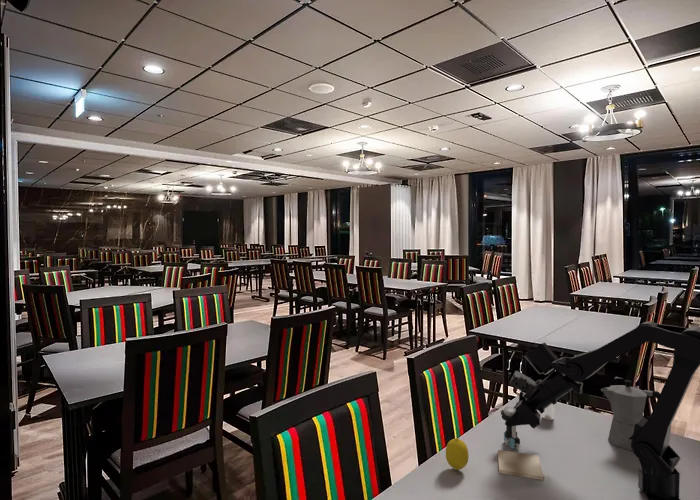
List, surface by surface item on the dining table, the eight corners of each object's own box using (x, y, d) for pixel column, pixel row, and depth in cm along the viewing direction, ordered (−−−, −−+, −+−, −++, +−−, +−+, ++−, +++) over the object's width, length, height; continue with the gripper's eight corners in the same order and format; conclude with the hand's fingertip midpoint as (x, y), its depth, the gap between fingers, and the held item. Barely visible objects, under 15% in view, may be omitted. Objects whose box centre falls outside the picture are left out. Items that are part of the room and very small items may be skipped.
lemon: (452, 477, 98) (452, 445, 98) (441, 465, 103) (441, 434, 103) (472, 474, 100) (473, 442, 99) (460, 462, 105) (461, 431, 105)
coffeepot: (605, 447, 113) (606, 383, 112) (595, 432, 122) (596, 372, 121) (671, 456, 108) (672, 389, 108) (656, 440, 117) (657, 378, 117)
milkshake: (535, 416, 132) (535, 386, 132) (547, 413, 135) (547, 383, 134) (547, 422, 128) (548, 391, 128) (559, 419, 131) (559, 388, 130)
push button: (528, 451, 110) (528, 415, 110) (510, 453, 110) (509, 417, 109) (514, 438, 117) (514, 404, 116) (497, 440, 116) (497, 406, 116)
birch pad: (538, 458, 107) (538, 455, 107) (543, 480, 97) (543, 476, 97) (497, 452, 110) (497, 449, 110) (499, 472, 100) (499, 469, 100)
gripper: (531, 355, 119) (491, 386, 125) (525, 374, 103) (480, 408, 108) (561, 387, 116) (519, 417, 121) (560, 411, 99) (511, 445, 105)
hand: (507, 420), depth 114 cm, fingers closed on push button, 5 cm apart
